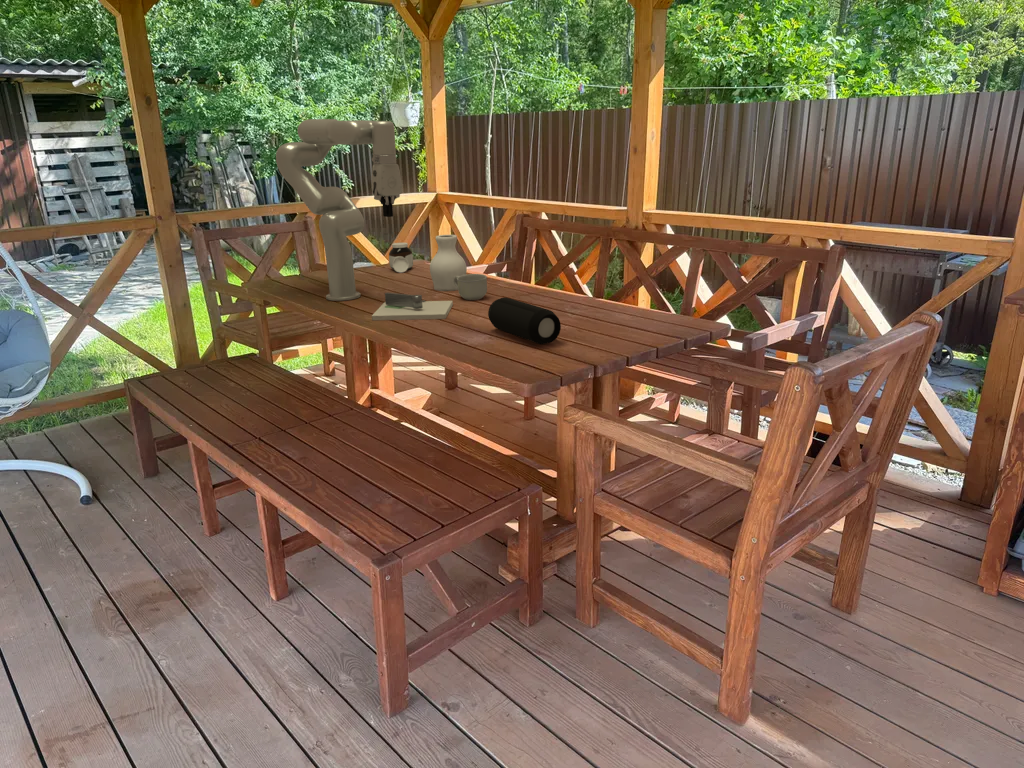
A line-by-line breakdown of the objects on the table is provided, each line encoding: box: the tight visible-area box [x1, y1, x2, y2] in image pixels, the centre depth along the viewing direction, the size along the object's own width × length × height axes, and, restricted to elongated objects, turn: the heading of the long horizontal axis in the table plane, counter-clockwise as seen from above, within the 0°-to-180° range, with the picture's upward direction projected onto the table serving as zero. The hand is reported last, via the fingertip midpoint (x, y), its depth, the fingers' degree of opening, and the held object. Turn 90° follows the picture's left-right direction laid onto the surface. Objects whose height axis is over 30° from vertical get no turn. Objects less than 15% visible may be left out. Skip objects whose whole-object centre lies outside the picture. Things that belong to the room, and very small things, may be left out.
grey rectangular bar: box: [384, 292, 423, 309], centre depth 244 cm, size 15×3×4 cm, turn 61°
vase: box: [429, 234, 468, 292], centre depth 280 cm, size 14×14×20 cm
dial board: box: [371, 299, 454, 321], centre depth 245 cm, size 20×24×2 cm
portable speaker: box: [487, 297, 562, 345], centre depth 211 cm, size 26×10×10 cm, turn 34°
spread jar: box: [388, 242, 414, 274], centre depth 320 cm, size 12×11×12 cm
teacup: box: [454, 273, 488, 301], centre depth 263 cm, size 14×11×8 cm
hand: (388, 216), depth 249 cm, fingers closed
